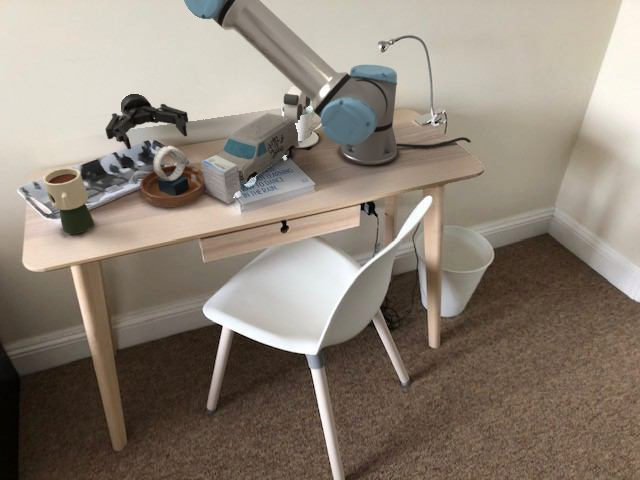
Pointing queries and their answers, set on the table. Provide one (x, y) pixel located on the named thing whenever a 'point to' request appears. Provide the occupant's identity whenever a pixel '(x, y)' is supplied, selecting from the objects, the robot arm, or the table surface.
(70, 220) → the character mug
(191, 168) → the bowl
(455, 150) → the table surface
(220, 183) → the medicine box
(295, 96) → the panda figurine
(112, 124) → the robot arm
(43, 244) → the table surface
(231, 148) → the toy car
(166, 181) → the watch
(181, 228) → the table surface
